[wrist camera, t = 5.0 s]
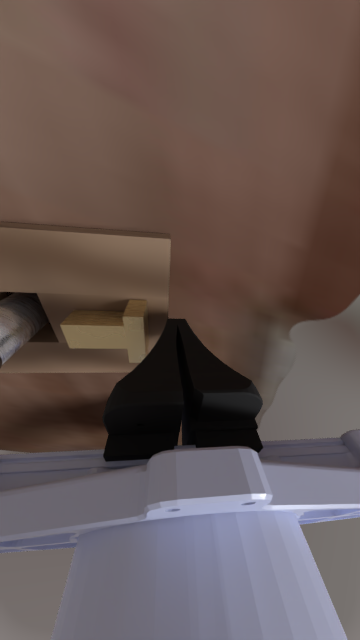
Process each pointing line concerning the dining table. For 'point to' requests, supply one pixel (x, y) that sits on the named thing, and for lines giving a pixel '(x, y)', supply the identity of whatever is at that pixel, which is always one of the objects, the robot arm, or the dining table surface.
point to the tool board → (82, 288)
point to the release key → (110, 330)
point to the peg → (19, 322)
